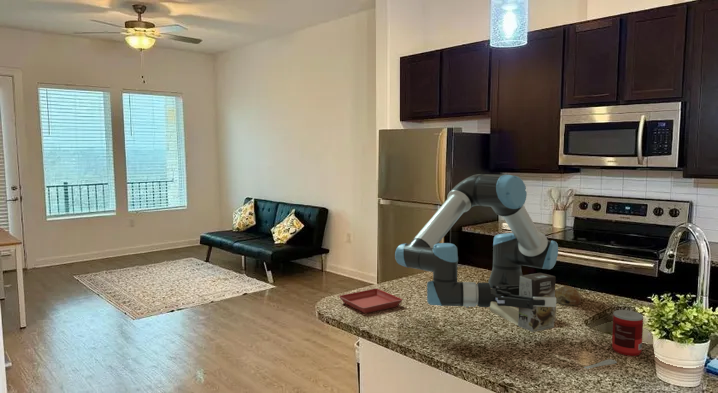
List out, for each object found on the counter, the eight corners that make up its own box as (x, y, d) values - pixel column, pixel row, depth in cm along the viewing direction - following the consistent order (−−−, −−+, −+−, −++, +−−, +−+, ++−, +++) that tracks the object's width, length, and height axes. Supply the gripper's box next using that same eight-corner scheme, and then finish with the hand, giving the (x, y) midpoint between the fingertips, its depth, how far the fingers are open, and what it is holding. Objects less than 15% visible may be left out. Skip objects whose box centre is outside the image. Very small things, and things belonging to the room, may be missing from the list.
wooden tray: (524, 306, 185) (524, 293, 184) (555, 321, 169) (556, 306, 168) (489, 310, 180) (489, 297, 179) (519, 326, 164) (519, 311, 163)
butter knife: (620, 362, 135) (610, 358, 138) (554, 379, 125) (546, 374, 128) (619, 363, 135) (610, 359, 138) (554, 381, 125) (546, 376, 128)
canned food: (634, 346, 147) (635, 310, 146) (646, 357, 139) (648, 319, 138) (607, 345, 148) (608, 309, 147) (618, 356, 140) (620, 318, 139)
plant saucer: (363, 316, 175) (363, 307, 175) (338, 303, 190) (337, 295, 190) (403, 307, 185) (403, 299, 185) (376, 296, 200) (376, 288, 200)
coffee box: (533, 333, 147) (534, 280, 145) (517, 326, 153) (518, 275, 151) (555, 327, 151) (556, 276, 149) (538, 321, 157) (539, 271, 155)
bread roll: (552, 311, 190) (553, 295, 186) (553, 294, 198) (553, 278, 195) (580, 314, 187) (581, 298, 183) (580, 296, 195) (581, 280, 191)
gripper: (473, 295, 165) (542, 297, 162) (480, 318, 143) (560, 321, 140) (473, 273, 164) (543, 275, 161) (480, 293, 142) (561, 295, 139)
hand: (551, 296), depth 150 cm, fingers closed on coffee box, 10 cm apart
